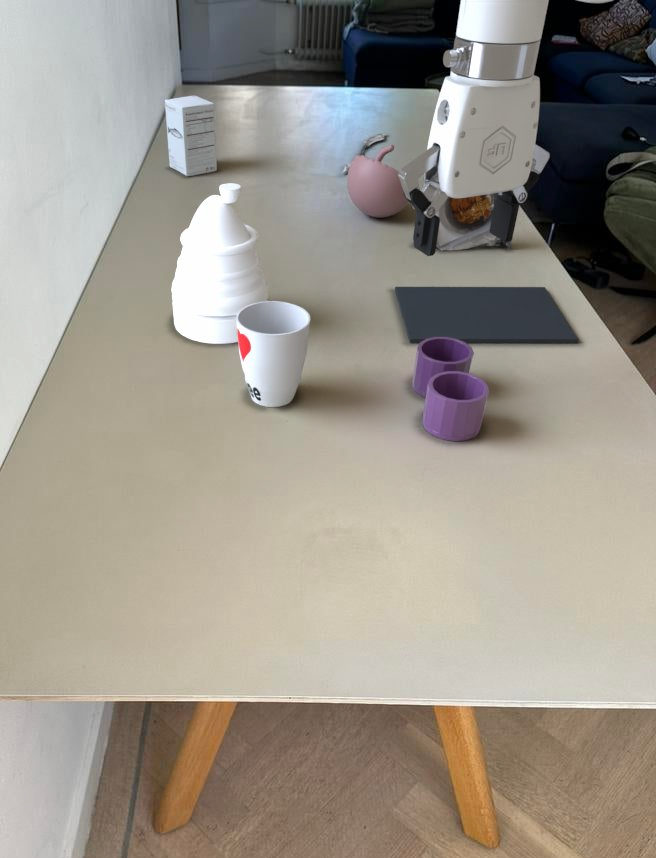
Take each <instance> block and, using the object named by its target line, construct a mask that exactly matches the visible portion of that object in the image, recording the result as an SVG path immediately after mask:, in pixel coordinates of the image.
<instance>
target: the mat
mask: <svg viewBox="0 0 656 858" xmlns="http://www.w3.org/2000/svg"><path fill="white" fill-rule="evenodd" d="M394 292H395V296H396V299H397V303H398V307H399V310H400V313H401V317H402V320H403V323H404V327H405V330H406V334H407V337H408V341H409V343H411V344H415V343H416V344H417V343H418V344H419V343H420V342H421V341H423V340H425V339H428V338H432V337H449V338H455V339H458V340H461V341H463V342H465V343H467V344H578V342H579V338H578V337H577V335H576V333H575V332H574V330H573V328H571V326H570V324H569V323H568V321H567V319H566V318H565V316H564V315H563V313H562V311H561V310H560V308H559V307H558V305H557V303H556V302H555V300H554V299H553V298H552V295H550V293H549V291H548V290H547V288H546V287H545V286H394Z"/></svg>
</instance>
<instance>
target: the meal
mask: <svg viewBox="0 0 656 858" xmlns="http://www.w3.org/2000/svg"><path fill="white" fill-rule="evenodd" d="M425 184H426V183H425V179H424V178H422V184H421V185H422V187H421V189H422V188H423V187H424V185H425ZM436 192H437V191H435V193H436ZM435 193H434V194H433V195H432V197H433V196H434V195H435ZM497 195H502V192H499V193H492V194H486V195H480V196H473V197H466V198H451V197H448V198H447V200H446V201H445V202H444V204H443V205H442V206H441V208H440V209H439V210H438V212H437V213H436V214H435V215H436V216H438V217H439V218H440V224H439V231H438V238H437V244H436V248H438V249H439V250H441V251H460V250H461V251H462V250H467V249H472V248H475V247H481V246H484V247H494V246H496V247H501V248H505V249H510V248H511V245H512V240H511V241H509V242H505V241H503V240H501V239H499V238H498V237H496V236H494V235H492V234H491V233H490V225H491V220H492V215H493V210H494V204H495V200H496V198H497ZM432 197H431V198H430V199H429V201H430V200H431V199H432Z"/></svg>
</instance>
